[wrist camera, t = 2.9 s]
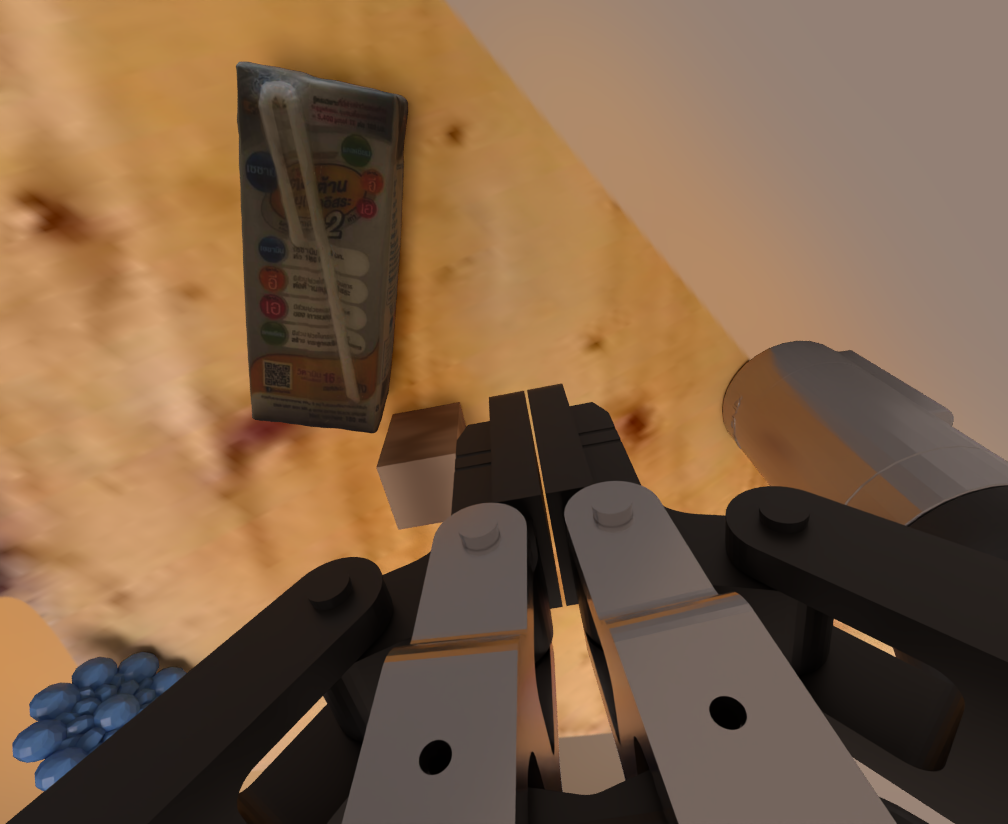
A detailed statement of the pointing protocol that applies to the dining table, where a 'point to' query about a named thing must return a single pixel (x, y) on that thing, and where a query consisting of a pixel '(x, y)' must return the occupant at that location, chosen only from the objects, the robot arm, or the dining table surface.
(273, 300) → the beverage carton
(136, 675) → the grapes
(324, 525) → the dining table surface
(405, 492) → the walnut block
